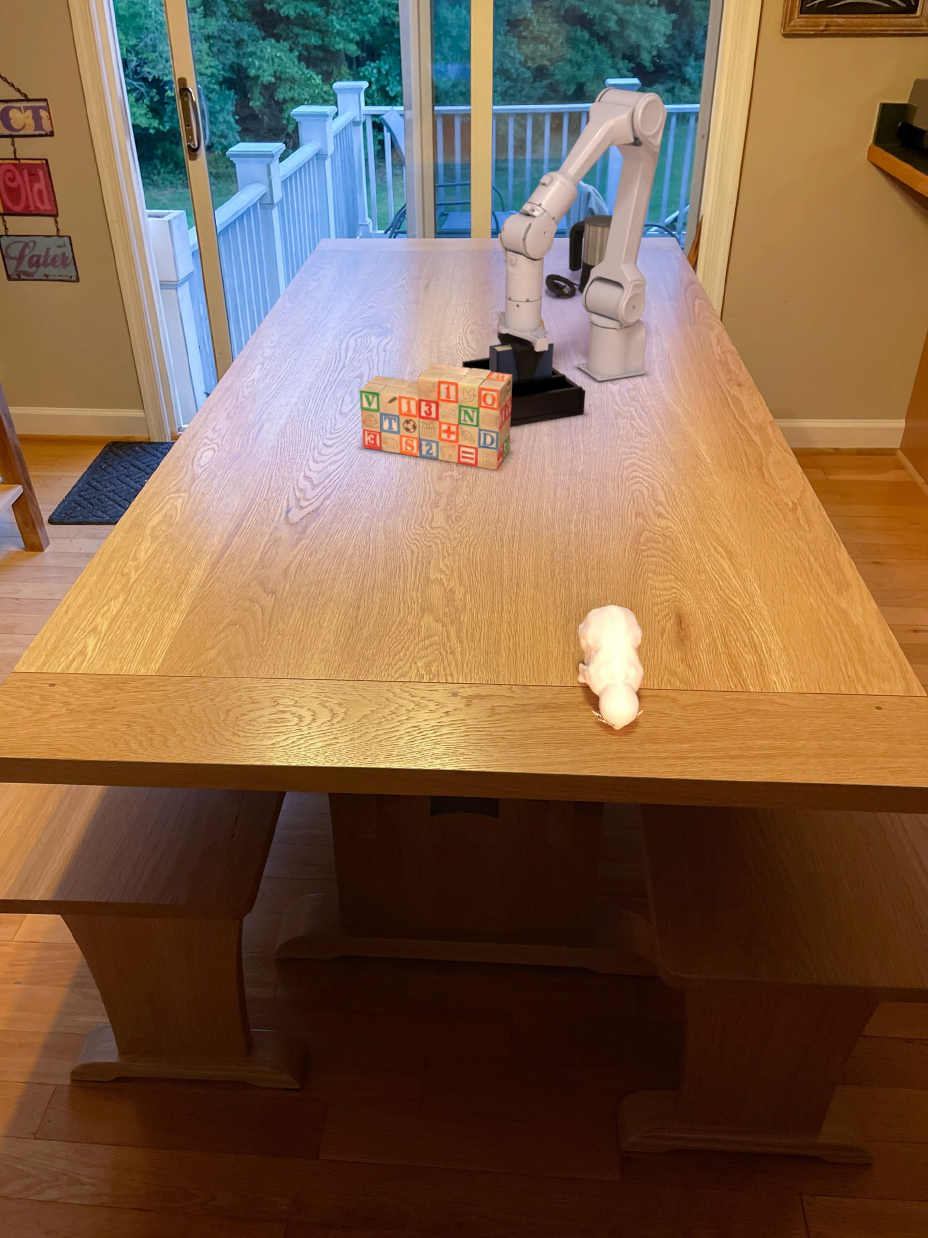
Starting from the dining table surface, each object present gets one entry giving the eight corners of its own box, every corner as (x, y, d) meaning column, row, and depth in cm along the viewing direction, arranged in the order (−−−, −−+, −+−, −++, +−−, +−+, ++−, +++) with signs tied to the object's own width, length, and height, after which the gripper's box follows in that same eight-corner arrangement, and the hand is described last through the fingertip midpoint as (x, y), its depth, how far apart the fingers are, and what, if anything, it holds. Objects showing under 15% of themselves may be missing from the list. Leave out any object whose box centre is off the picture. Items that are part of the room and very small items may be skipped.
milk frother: (628, 288, 213) (635, 217, 205) (596, 306, 202) (602, 232, 194) (570, 278, 219) (575, 209, 211) (537, 295, 208) (540, 223, 200)
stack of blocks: (361, 448, 145) (357, 369, 138) (378, 432, 150) (374, 354, 143) (498, 470, 139) (500, 388, 132) (510, 452, 144) (513, 372, 137)
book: (542, 384, 162) (545, 337, 158) (550, 390, 160) (553, 343, 156) (488, 393, 159) (489, 345, 155) (495, 399, 157) (497, 351, 152)
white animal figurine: (642, 596, 96) (663, 679, 87) (632, 659, 102) (651, 744, 93) (579, 596, 96) (593, 680, 87) (572, 659, 102) (585, 744, 92)
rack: (533, 375, 170) (534, 350, 167) (583, 414, 156) (585, 387, 153) (459, 386, 165) (459, 361, 163) (504, 427, 151) (505, 400, 149)
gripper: (481, 286, 155) (480, 368, 163) (520, 312, 144) (517, 399, 152) (521, 282, 157) (518, 363, 165) (562, 307, 146) (557, 393, 154)
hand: (520, 380), depth 159 cm, fingers closed on book, 3 cm apart
